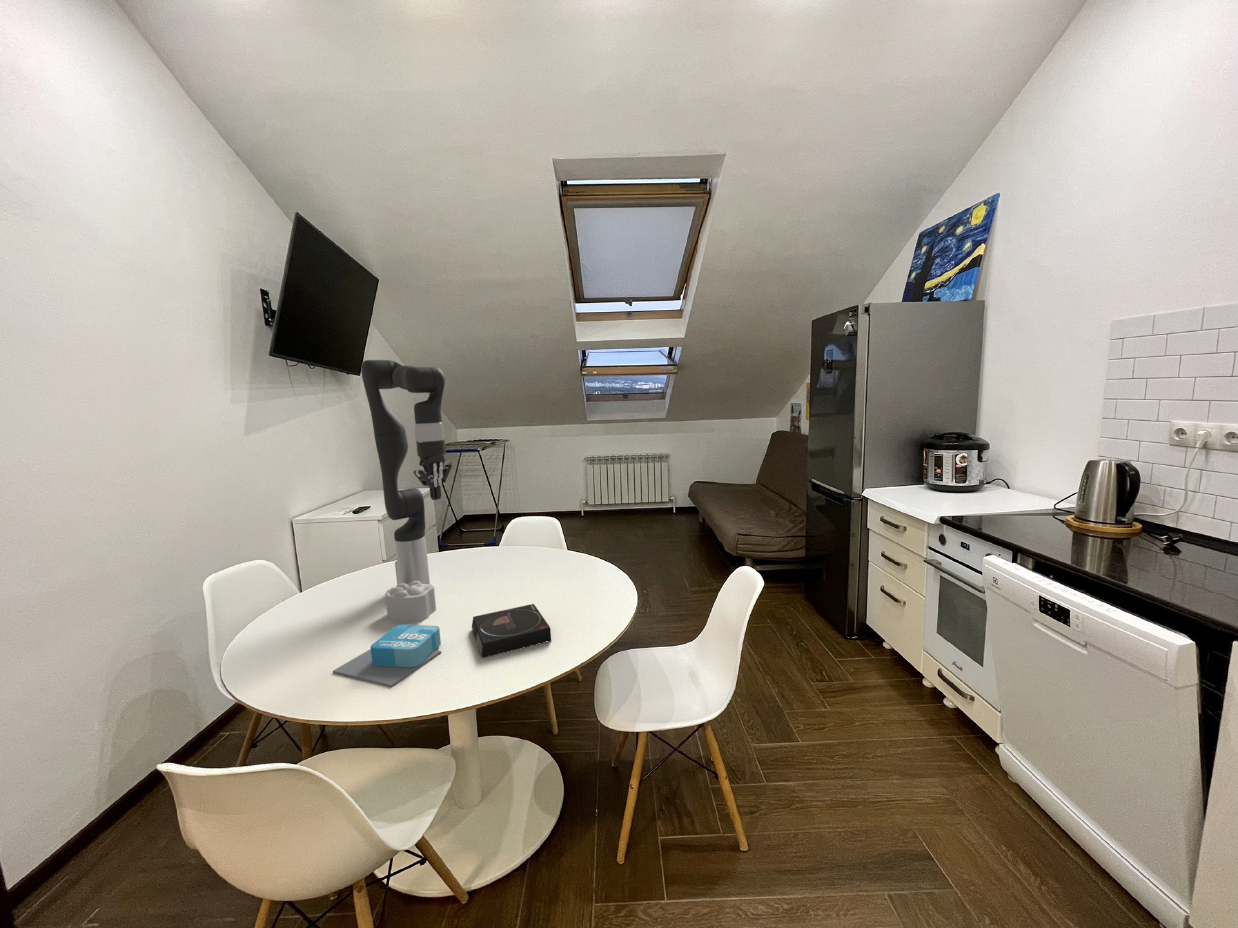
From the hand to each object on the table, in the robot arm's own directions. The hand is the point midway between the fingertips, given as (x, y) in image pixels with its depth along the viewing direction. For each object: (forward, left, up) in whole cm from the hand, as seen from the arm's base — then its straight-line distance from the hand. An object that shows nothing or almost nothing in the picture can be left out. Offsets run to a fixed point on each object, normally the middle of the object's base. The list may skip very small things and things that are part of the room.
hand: (436, 499), depth 141 cm
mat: (+8, -28, -33) cm, 44 cm away
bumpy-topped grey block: (-8, -6, -33) cm, 35 cm away
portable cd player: (+28, -8, -34) cm, 45 cm away
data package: (+9, -18, -30) cm, 36 cm away
